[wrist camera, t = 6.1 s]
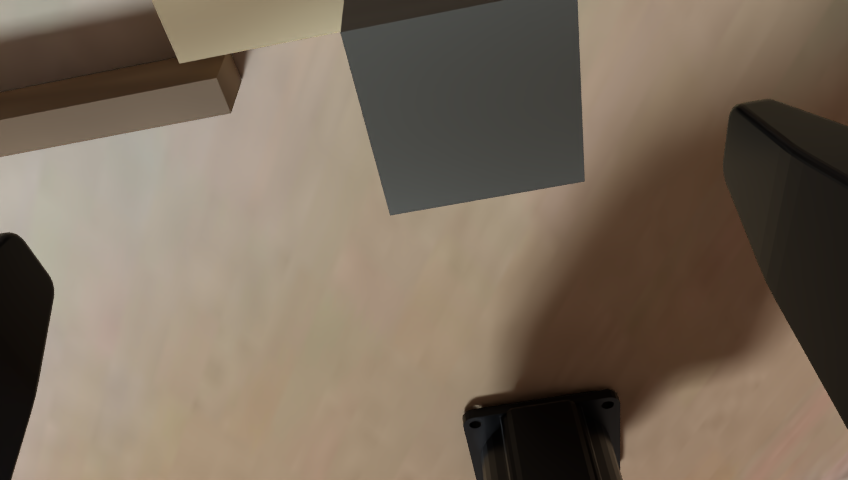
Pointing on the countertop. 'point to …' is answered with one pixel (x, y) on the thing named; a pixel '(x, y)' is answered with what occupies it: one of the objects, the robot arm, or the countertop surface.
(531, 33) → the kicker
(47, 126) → the guide
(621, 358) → the countertop surface
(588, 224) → the countertop surface
